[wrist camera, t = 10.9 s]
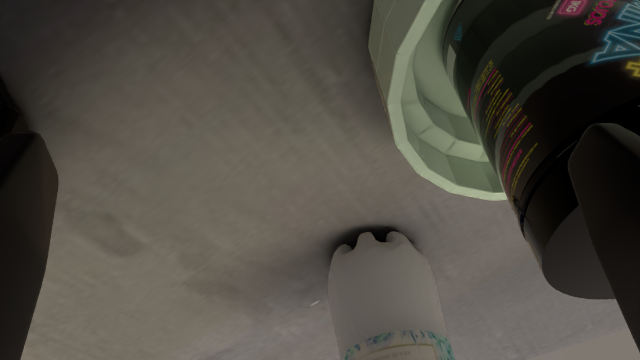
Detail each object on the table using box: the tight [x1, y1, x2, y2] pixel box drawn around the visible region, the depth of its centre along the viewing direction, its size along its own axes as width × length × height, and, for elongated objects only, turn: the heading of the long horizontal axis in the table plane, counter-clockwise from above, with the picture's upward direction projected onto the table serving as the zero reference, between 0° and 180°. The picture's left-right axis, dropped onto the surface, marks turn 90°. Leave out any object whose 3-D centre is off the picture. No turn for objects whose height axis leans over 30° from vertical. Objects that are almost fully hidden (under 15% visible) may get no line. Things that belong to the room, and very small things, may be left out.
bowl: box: [368, 0, 508, 201], centre depth 19 cm, size 13×13×4 cm
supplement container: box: [442, 0, 640, 299], centre depth 16 cm, size 7×7×10 cm
